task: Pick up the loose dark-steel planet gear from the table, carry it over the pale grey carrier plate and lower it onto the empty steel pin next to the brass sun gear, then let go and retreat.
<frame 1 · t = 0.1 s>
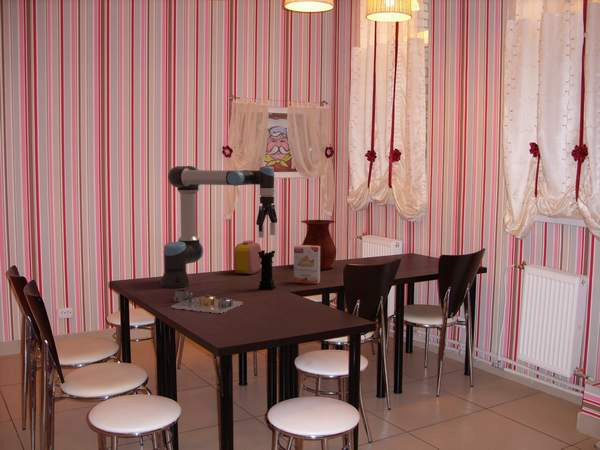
hand: (267, 236, 345), 28 cm above the table, fingers open, 13 cm apart
planet gear: (182, 300, 317), on the table
vase: (318, 268, 414), on the table
chess piece: (266, 289, 348), on the table
carrier: (207, 306, 304), on the table
cracker box: (306, 283, 364), on the table
lunch box: (248, 273, 396), on the table
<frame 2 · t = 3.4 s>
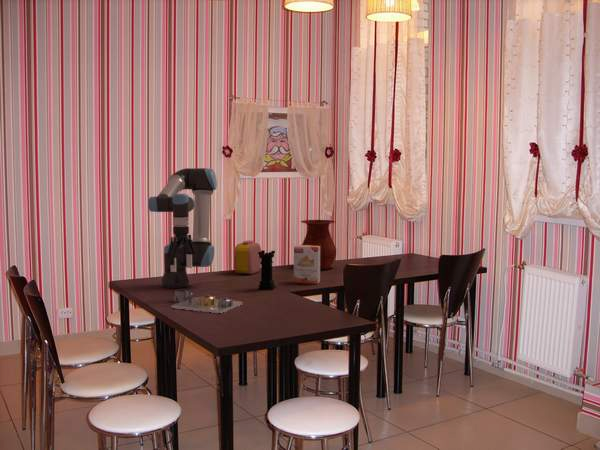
hand: (181, 269, 315), 15 cm above the table, fingers open, 13 cm apart
nothing on the table moved.
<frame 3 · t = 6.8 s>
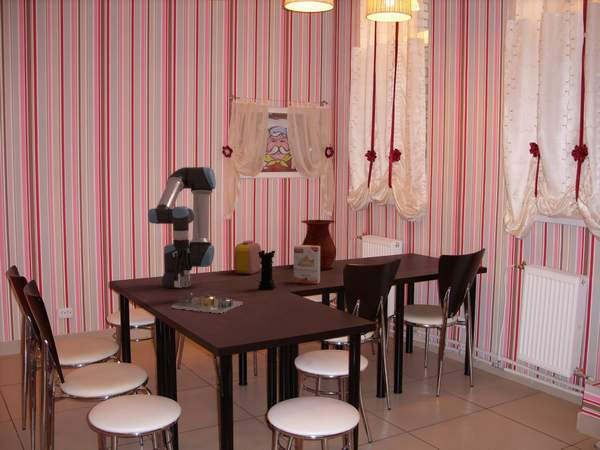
hand: (182, 285, 317), 8 cm above the table, fingers closed on planet gear, 8 cm apart
planet gear: (182, 285, 317), point 7 cm above the table, touching gripper
everything else where it was.
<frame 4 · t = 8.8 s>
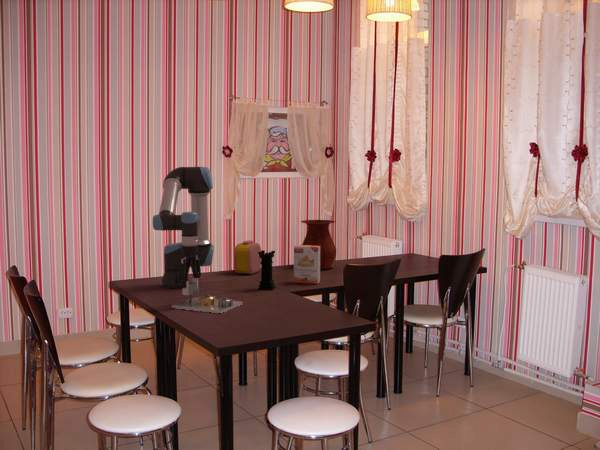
hand: (190, 293, 307), 6 cm above the table, fingers closed on planet gear, 8 cm apart
planet gear: (190, 293, 307), point 5 cm above the table, touching gripper
everything else where it was.
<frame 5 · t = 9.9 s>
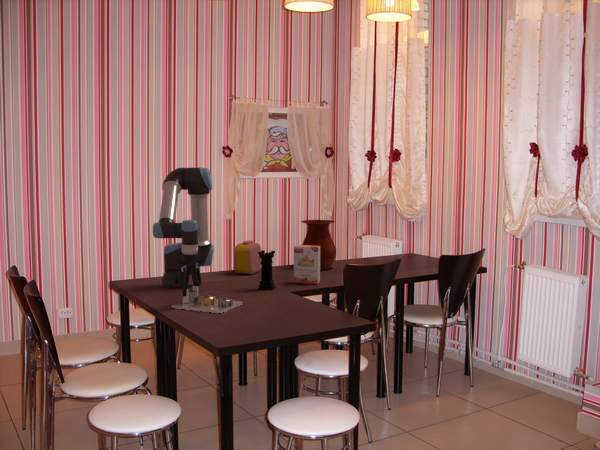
hand: (190, 301, 308), 2 cm above the table, fingers closed on planet gear, 8 cm apart
planet gear: (190, 301, 308), point 2 cm above the table, touching carrier, gripper
everything else where it was.
when the fingers open (2 cm above the table, at t = 10.8 s): planet gear stays where it is, resting on carrier.
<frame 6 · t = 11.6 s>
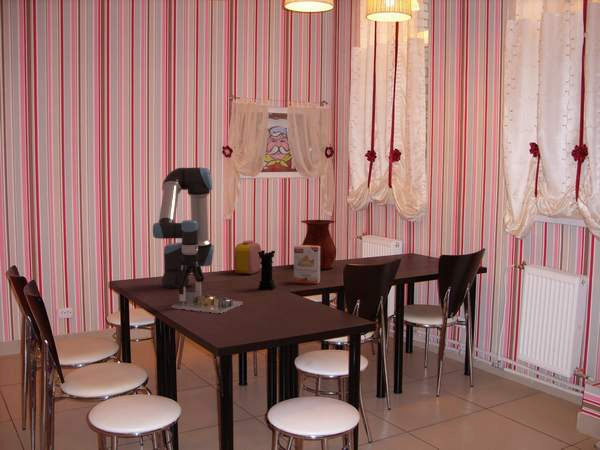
hand: (190, 298, 308), 3 cm above the table, fingers open, 13 cm apart
planet gear: (190, 301, 308), point 1 cm above the table, touching carrier
everything else where it was.
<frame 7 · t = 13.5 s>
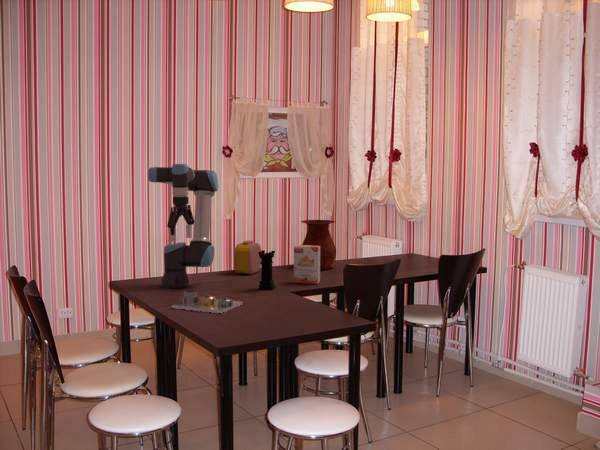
hand: (181, 239, 317), 29 cm above the table, fingers open, 13 cm apart
nothing on the table moved.
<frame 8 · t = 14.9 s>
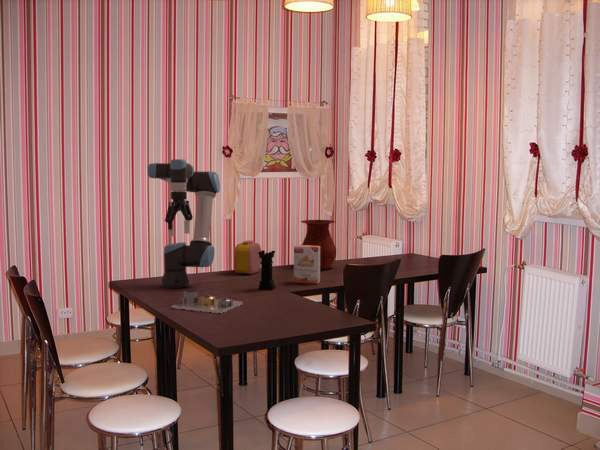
hand: (179, 234, 318), 32 cm above the table, fingers open, 13 cm apart
nothing on the table moved.
at the end: planet gear 0.0 cm from the target spot on the carrier, point 1.5 cm above the carrier's base; planet gear tilted 0°; the gripper is holding nothing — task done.
